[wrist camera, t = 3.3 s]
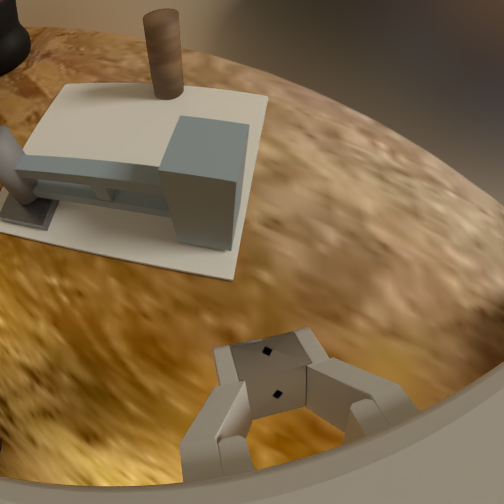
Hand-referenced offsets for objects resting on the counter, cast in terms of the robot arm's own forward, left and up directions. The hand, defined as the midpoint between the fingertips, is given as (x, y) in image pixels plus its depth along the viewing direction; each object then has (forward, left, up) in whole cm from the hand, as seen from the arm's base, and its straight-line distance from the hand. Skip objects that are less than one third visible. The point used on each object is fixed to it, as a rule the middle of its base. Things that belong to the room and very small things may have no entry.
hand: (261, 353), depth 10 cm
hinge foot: (-21, +10, -13) cm, 27 cm away
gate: (-12, +10, -12) cm, 20 cm away
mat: (-14, +16, -13) cm, 25 cm away
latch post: (-12, +25, -13) cm, 30 cm away
